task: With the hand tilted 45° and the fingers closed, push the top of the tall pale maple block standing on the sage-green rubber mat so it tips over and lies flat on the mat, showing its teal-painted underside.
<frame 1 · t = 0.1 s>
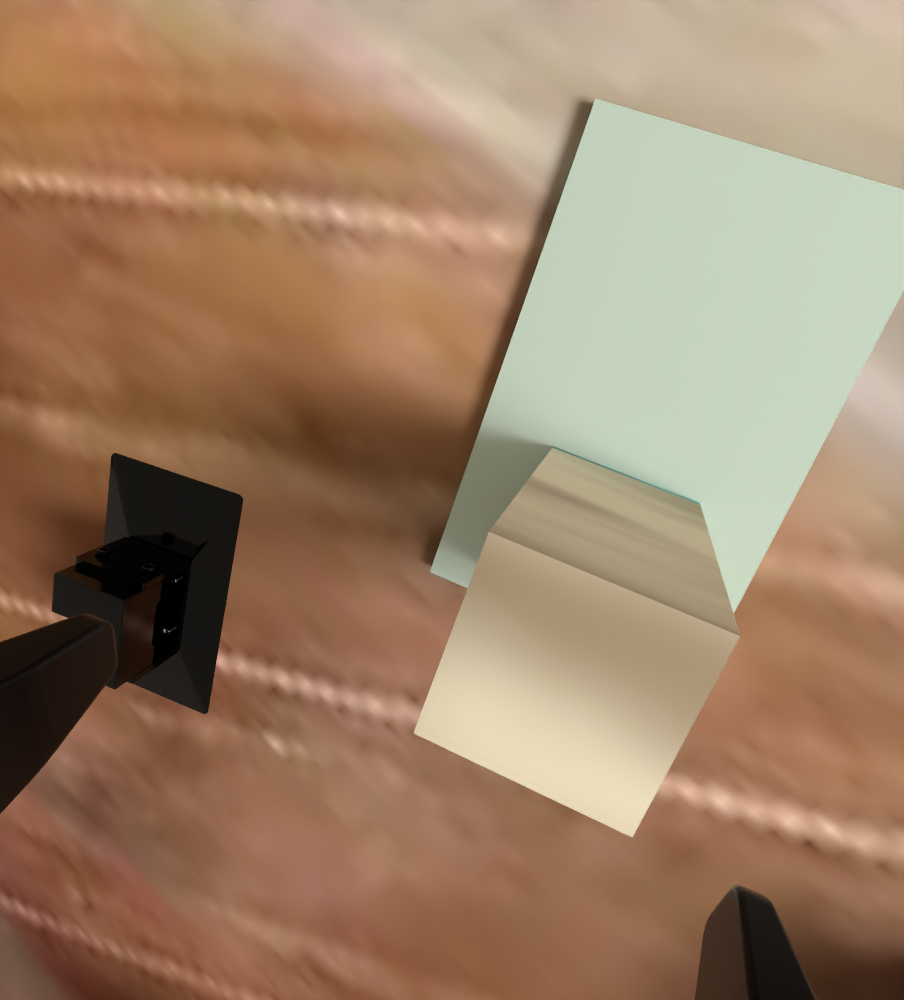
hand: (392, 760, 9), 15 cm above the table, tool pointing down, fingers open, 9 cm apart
mat: (649, 414, 22), on the table
black boxy device: (172, 583, 30), on the table
maple block: (596, 541, 23), resting on mat
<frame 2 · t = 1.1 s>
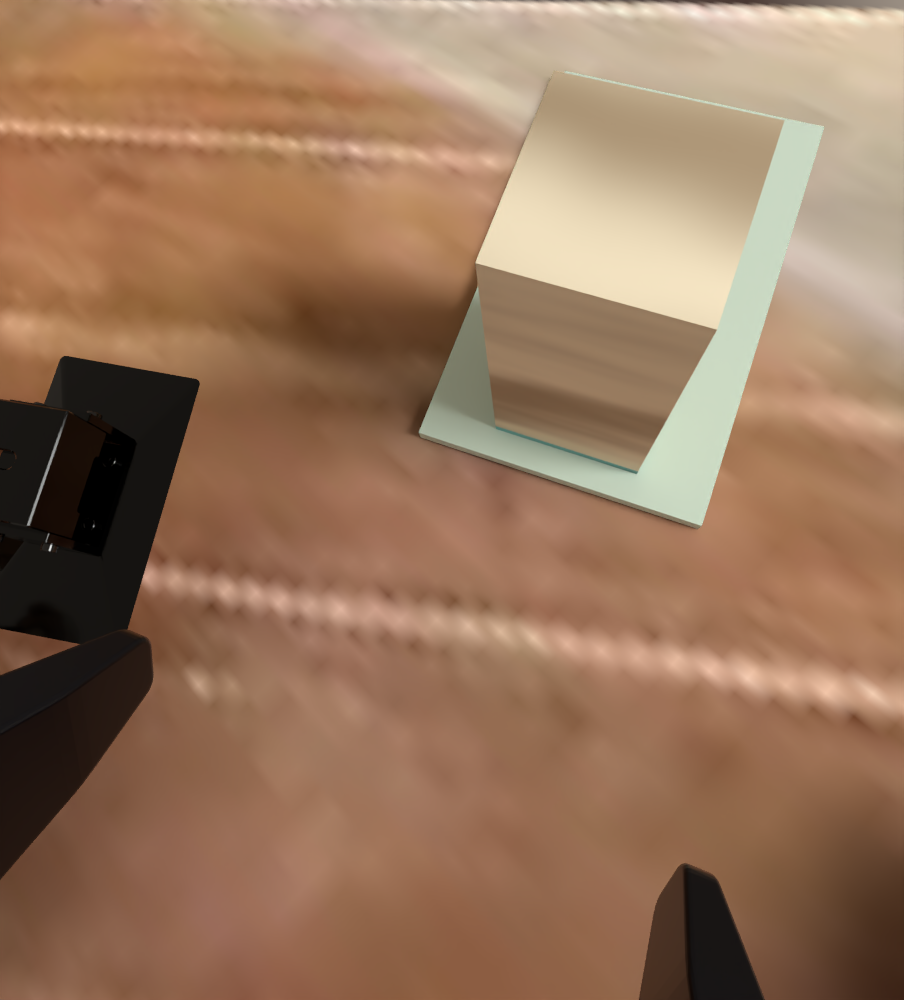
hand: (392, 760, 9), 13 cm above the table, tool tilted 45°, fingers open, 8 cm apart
mat: (624, 283, 25), on the table
black boxy device: (101, 499, 26), on the table
maple block: (588, 386, 24), resting on mat
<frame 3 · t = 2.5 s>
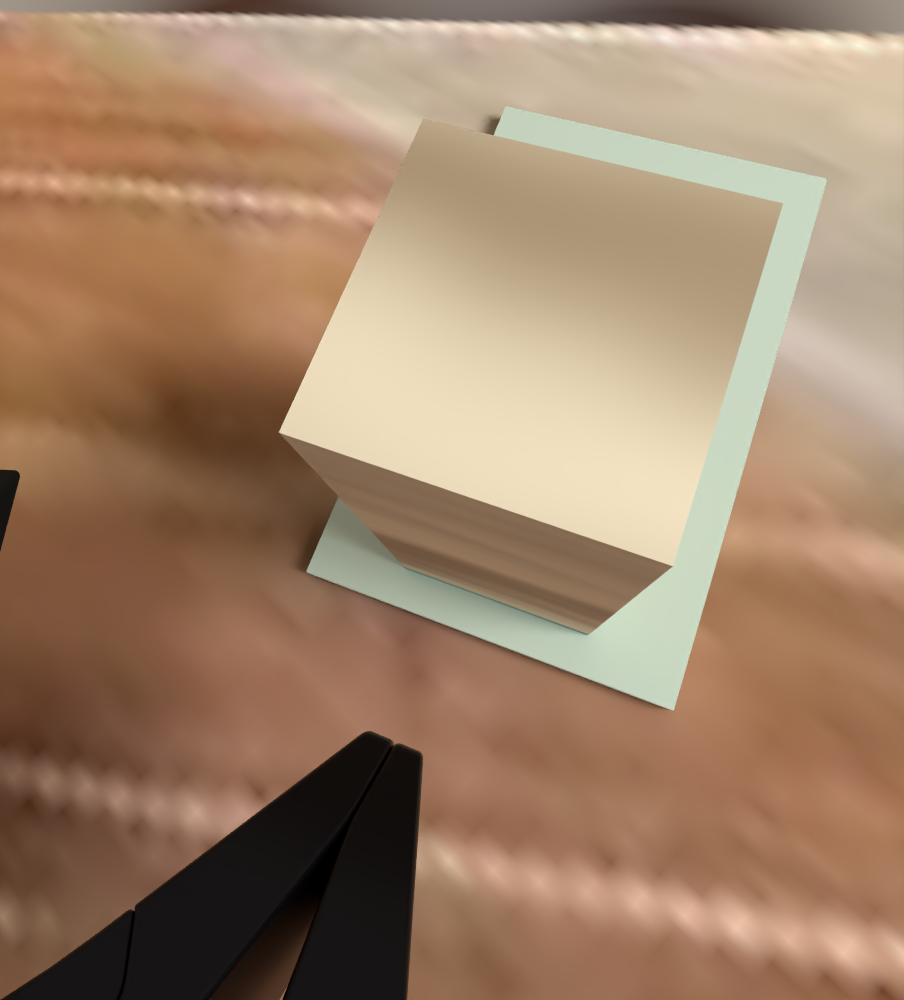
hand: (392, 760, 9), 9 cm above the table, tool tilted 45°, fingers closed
mat: (576, 374, 20), on the table
maple block: (526, 513, 18), resting on mat
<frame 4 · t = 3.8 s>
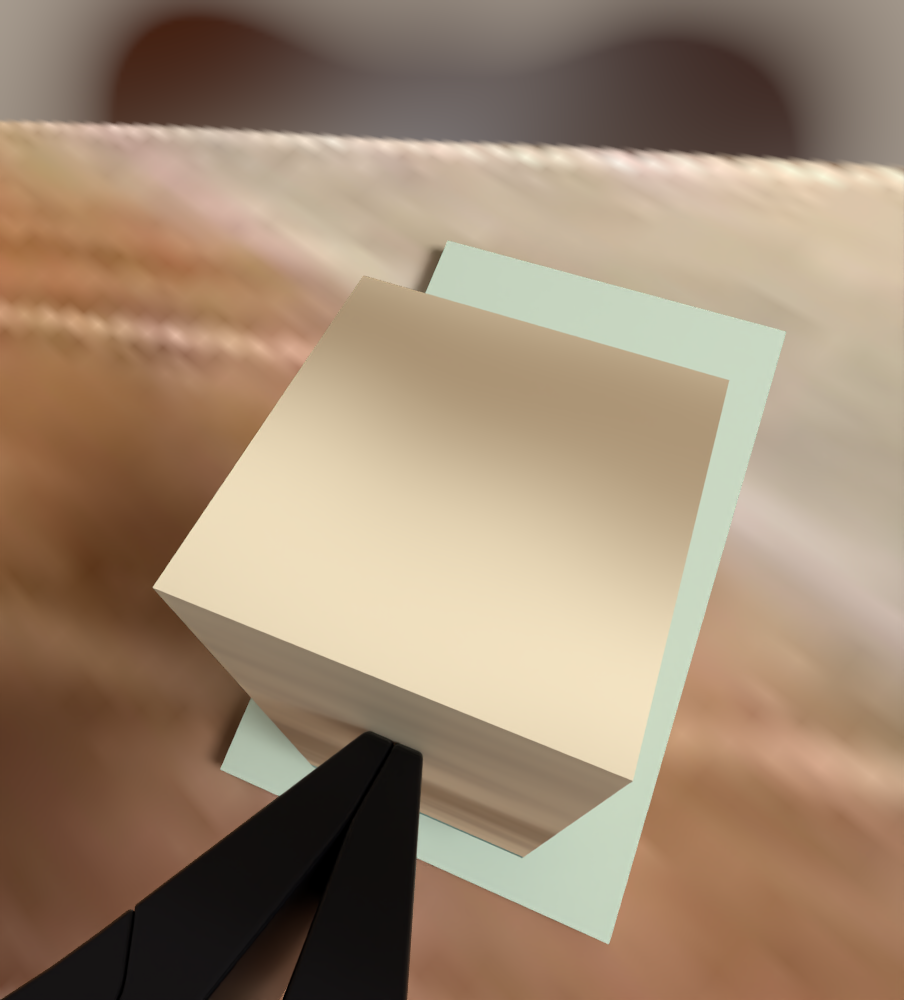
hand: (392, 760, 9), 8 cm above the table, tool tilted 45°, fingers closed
mat: (516, 544, 18), on the table
maple block: (455, 704, 16), point 1 cm above the table, tilted 17°, touching mat
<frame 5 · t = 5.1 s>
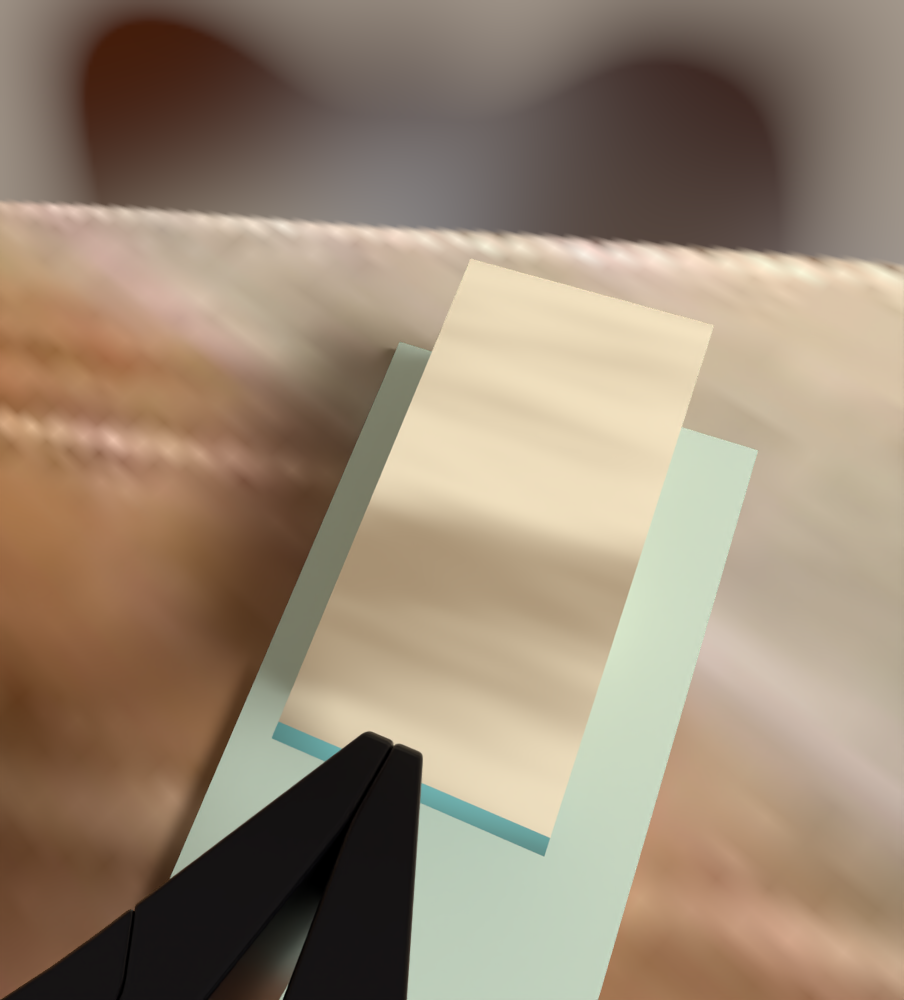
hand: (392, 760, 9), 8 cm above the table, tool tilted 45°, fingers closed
mat: (467, 681, 17), on the table
maple block: (423, 775, 14), point 3 cm above the table, tilted 90°, touching mat
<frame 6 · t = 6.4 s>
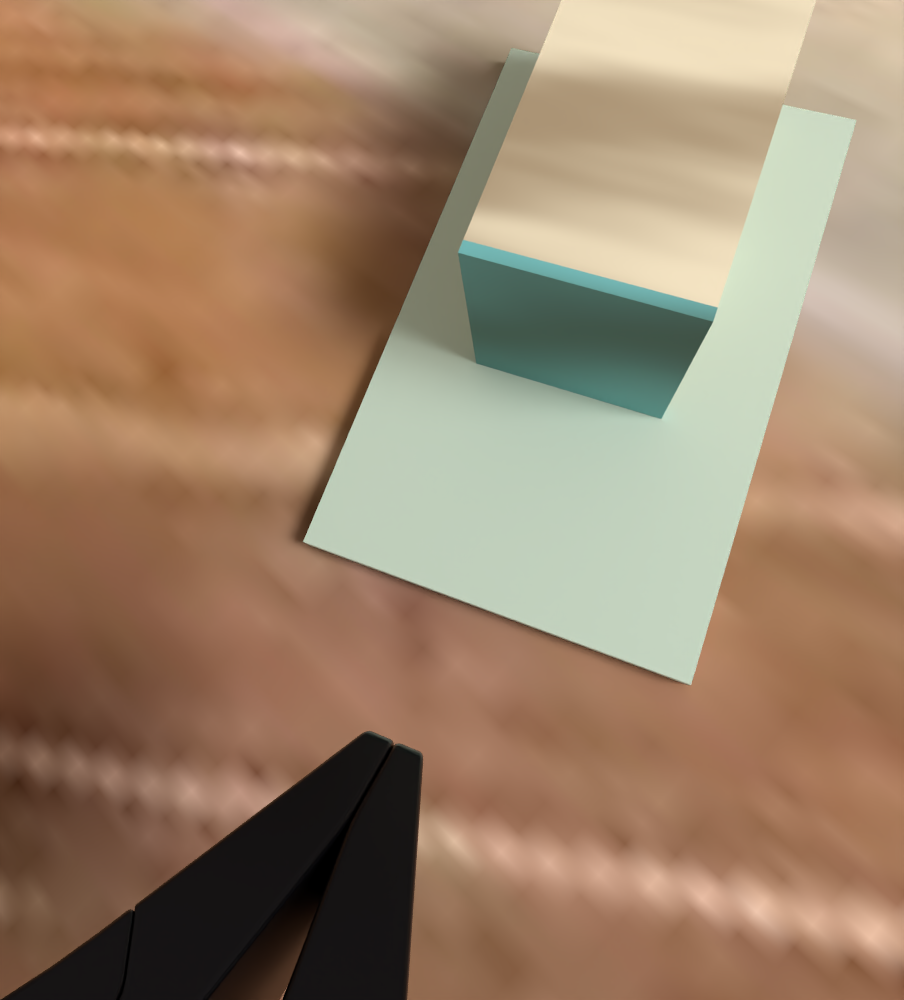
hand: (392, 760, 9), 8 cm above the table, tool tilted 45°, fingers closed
mat: (587, 332, 19), on the table
maple block: (572, 346, 15), point 3 cm above the table, tilted 90°, touching mat
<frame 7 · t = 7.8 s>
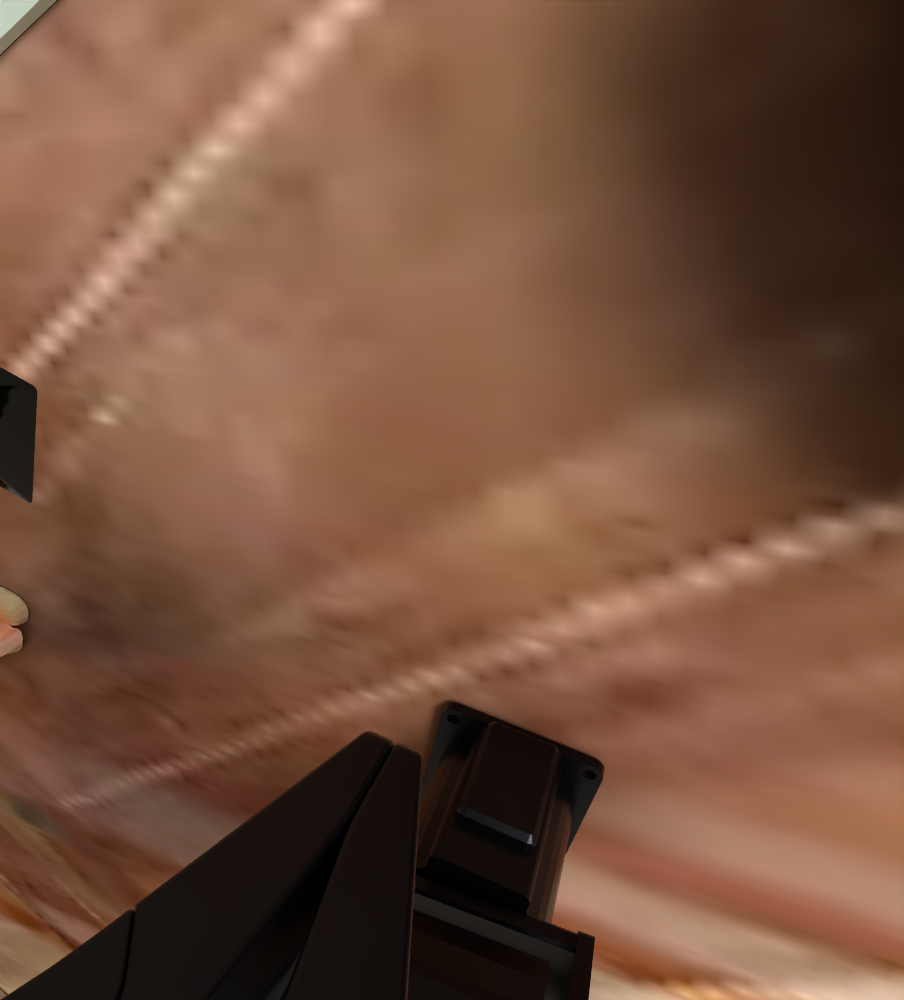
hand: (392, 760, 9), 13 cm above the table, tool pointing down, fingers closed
grandmother figurine: (9, 607, 35), on the table
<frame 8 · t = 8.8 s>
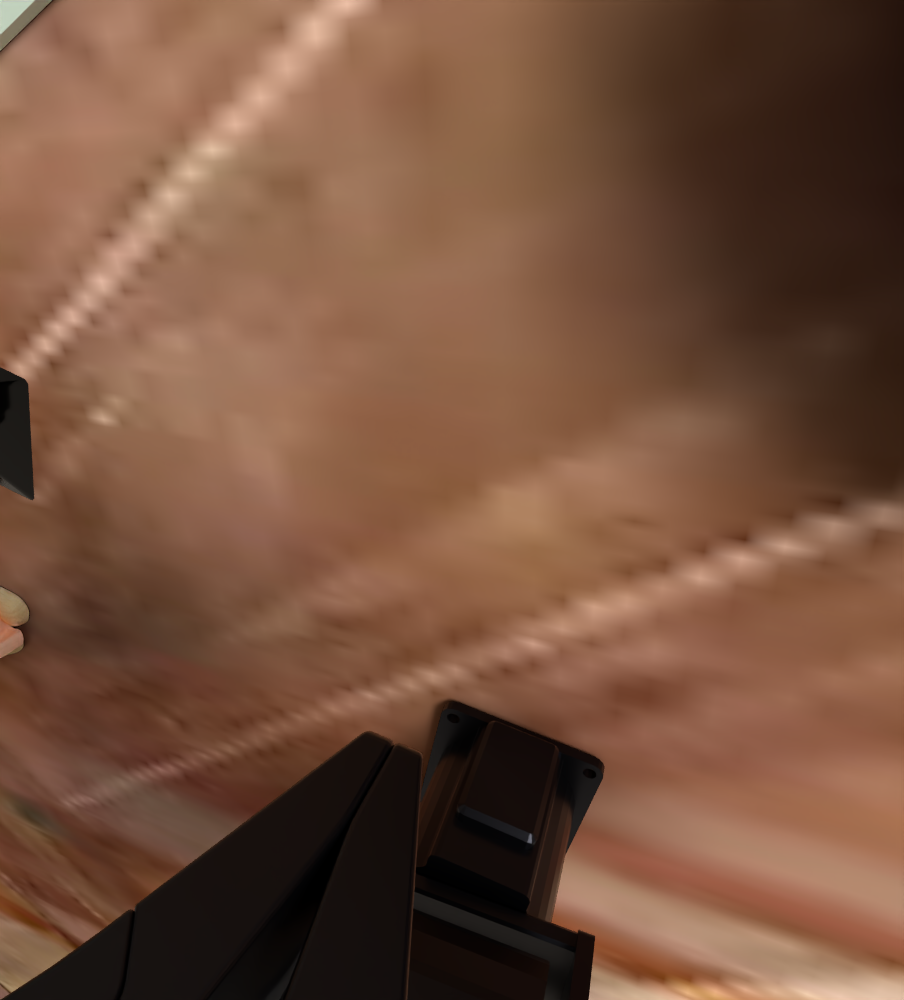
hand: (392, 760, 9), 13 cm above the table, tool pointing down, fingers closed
grandmother figurine: (10, 608, 35), on the table
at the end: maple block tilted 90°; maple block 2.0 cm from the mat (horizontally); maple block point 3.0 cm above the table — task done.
